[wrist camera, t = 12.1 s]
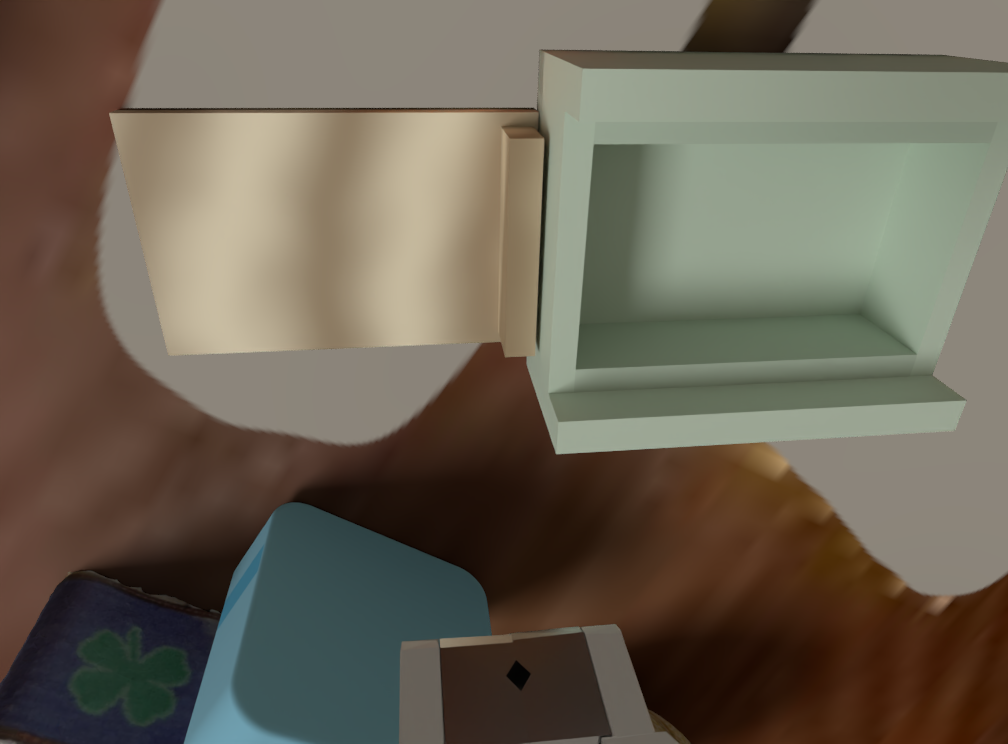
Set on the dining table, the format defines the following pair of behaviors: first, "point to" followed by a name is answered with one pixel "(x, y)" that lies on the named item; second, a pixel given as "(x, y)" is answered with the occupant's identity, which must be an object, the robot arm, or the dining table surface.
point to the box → (756, 242)
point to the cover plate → (337, 225)
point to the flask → (107, 667)
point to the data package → (325, 633)
